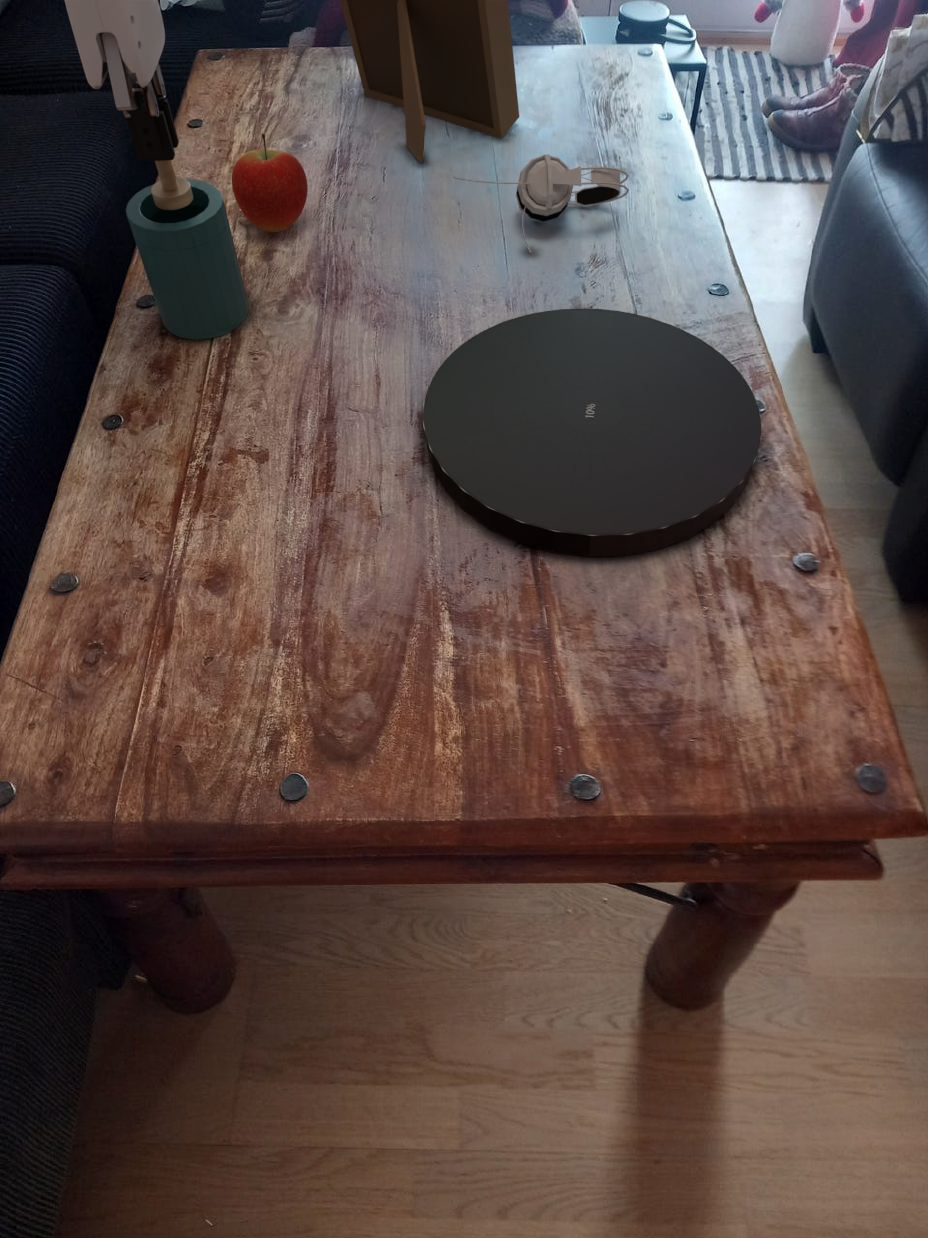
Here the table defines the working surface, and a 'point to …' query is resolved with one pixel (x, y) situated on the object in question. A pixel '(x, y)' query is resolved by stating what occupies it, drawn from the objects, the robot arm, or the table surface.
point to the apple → (270, 188)
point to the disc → (591, 431)
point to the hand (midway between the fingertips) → (159, 151)
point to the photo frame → (437, 62)
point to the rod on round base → (170, 186)
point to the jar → (190, 262)
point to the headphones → (561, 188)
